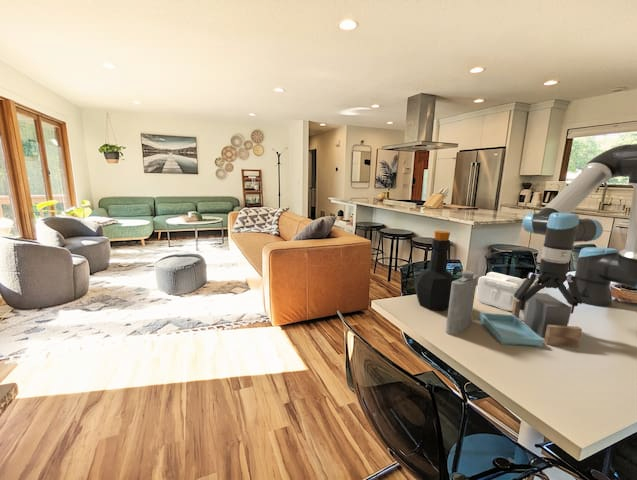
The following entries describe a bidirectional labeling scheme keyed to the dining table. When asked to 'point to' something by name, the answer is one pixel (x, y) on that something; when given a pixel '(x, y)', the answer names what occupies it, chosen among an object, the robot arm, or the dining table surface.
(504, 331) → the teal tray
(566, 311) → the grey rectangular block
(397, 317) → the dining table surface
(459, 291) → the hip flask
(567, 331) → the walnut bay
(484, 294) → the cable organizer
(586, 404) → the dining table surface
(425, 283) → the bottle
